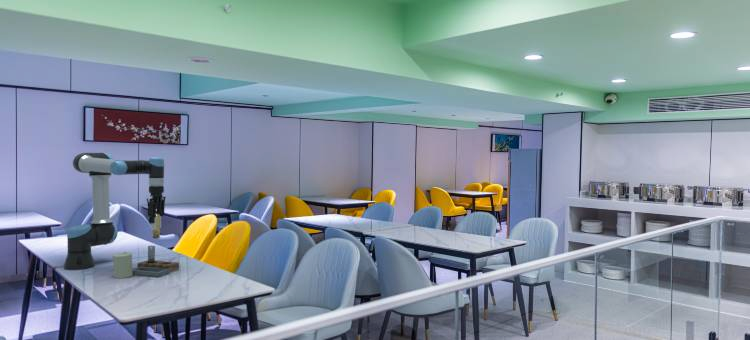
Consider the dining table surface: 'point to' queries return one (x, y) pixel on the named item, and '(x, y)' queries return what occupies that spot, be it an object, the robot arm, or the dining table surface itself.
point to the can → (122, 265)
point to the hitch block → (161, 265)
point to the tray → (150, 271)
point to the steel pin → (151, 254)
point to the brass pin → (157, 227)
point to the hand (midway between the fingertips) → (156, 228)
